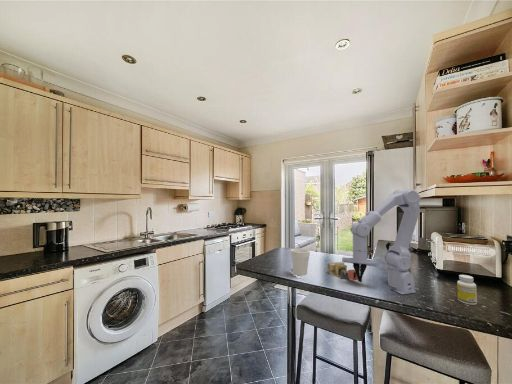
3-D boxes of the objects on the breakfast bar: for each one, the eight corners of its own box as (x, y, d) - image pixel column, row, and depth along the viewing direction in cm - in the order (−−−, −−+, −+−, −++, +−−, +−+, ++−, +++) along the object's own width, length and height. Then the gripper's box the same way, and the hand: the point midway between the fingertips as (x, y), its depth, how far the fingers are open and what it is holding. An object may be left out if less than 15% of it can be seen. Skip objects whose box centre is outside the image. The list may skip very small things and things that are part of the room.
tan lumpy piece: (346, 275, 108) (346, 265, 108) (338, 276, 107) (338, 266, 107) (342, 273, 111) (342, 263, 111) (334, 274, 110) (334, 264, 110)
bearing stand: (356, 281, 105) (356, 267, 106) (339, 283, 102) (339, 269, 103) (341, 273, 116) (341, 261, 116) (325, 275, 113) (325, 263, 113)
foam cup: (303, 272, 117) (303, 247, 118) (313, 278, 109) (313, 251, 109) (287, 274, 114) (287, 249, 115) (296, 280, 106) (296, 253, 106)
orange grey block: (359, 279, 99) (358, 271, 99) (353, 280, 98) (353, 272, 98) (343, 272, 109) (343, 265, 109) (338, 272, 108) (338, 265, 108)
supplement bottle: (460, 297, 88) (460, 273, 89) (479, 303, 84) (478, 277, 84) (454, 300, 86) (454, 275, 86) (473, 306, 81) (472, 279, 81)
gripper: (378, 250, 97) (378, 281, 97) (343, 246, 104) (343, 275, 104) (378, 253, 91) (378, 286, 90) (341, 249, 98) (341, 280, 97)
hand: (360, 281), depth 97 cm, fingers closed
